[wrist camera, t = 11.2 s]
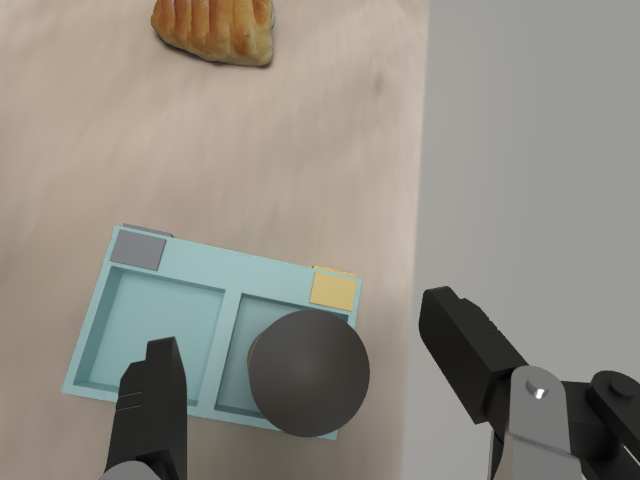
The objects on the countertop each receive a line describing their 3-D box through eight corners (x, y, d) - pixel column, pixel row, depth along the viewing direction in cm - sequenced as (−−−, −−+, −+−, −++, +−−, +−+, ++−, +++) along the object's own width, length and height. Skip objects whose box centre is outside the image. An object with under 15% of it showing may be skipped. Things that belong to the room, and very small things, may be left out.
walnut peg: (232, 366, 28) (222, 382, 15) (277, 311, 29) (302, 285, 17) (286, 411, 28) (320, 465, 15) (329, 354, 29) (392, 360, 17)
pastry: (154, 67, 33) (142, 31, 29) (156, -6, 34) (145, -48, 31) (276, 72, 34) (279, 39, 31) (273, 2, 36) (276, -37, 32)
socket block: (80, 387, 27) (57, 393, 23) (130, 232, 29) (115, 219, 26) (327, 430, 28) (336, 441, 25) (352, 281, 31) (364, 273, 28)
